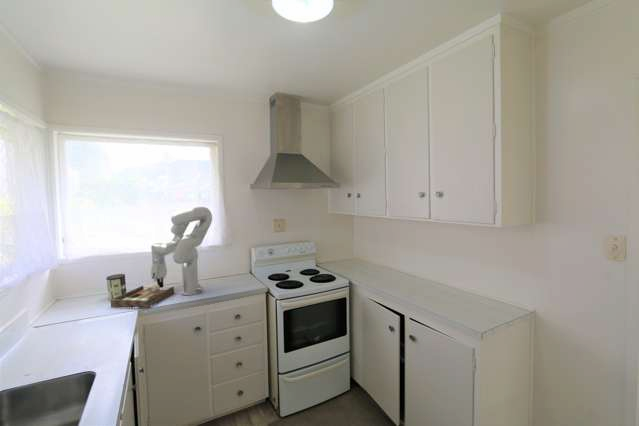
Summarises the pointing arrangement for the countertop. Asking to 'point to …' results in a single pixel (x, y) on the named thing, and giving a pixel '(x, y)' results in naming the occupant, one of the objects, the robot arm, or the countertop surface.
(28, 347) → the countertop surface
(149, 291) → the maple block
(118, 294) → the coffee can
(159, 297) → the wooden tray
